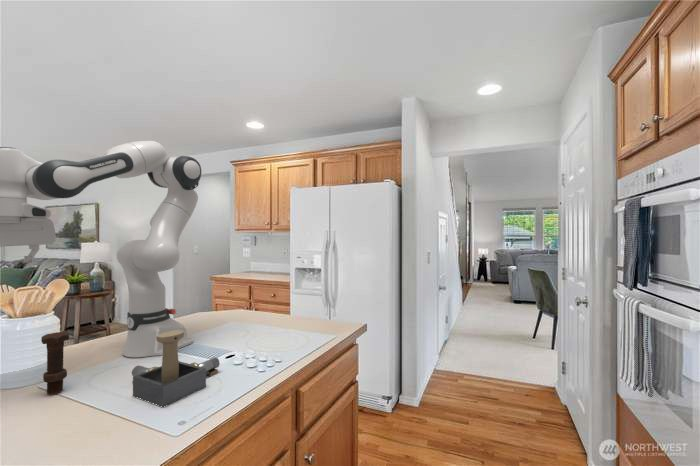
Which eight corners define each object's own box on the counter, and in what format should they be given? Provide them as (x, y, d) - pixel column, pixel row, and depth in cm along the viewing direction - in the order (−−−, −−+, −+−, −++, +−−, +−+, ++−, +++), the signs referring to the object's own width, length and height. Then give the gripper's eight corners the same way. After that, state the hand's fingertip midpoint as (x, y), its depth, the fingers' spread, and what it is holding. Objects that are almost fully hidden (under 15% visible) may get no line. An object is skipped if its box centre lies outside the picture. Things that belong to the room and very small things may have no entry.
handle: (152, 394, 85) (152, 335, 85) (176, 384, 90) (177, 329, 91) (162, 399, 82) (163, 338, 83) (187, 388, 88) (187, 332, 88)
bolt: (50, 399, 83) (51, 338, 83) (34, 397, 84) (35, 337, 84) (74, 388, 88) (74, 331, 88) (59, 386, 89) (59, 330, 89)
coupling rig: (183, 362, 106) (183, 347, 106) (230, 375, 97) (230, 357, 97) (113, 389, 88) (113, 370, 88) (162, 407, 78) (162, 386, 78)
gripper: (-53, 208, 75) (-51, 269, 75) (57, 211, 93) (59, 260, 93) (-65, 209, 77) (-62, 269, 77) (45, 212, 96) (47, 260, 96)
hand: (5, 264), depth 85 cm, fingers open, 8 cm apart
